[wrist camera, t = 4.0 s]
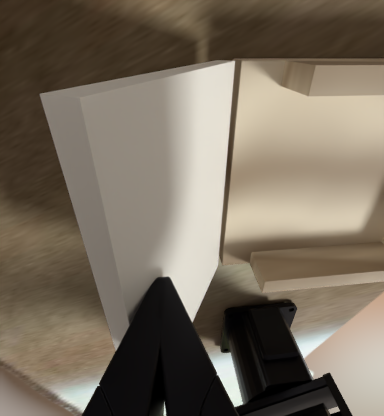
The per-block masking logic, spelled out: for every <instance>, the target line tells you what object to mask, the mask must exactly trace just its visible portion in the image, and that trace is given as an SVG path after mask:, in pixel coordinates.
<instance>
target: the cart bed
mask: <svg viewBox="0 0 384 416" xmlns="http://www.w3.org/2000/svg"><path fill="white" fill-rule="evenodd" d="M233 61H235V68H234V80H233V92H232V104H231V116H230V128H229V139H228V151H227V163H226V175H225V187H224V199H223V211H222V223H221V235H220V247H219V256H220V259H221V263H222V265H232V264H244V263H250V265H251V267H252V270H253V272H254V275H255V277H256V279H257V282H258V284H259V286H260V289H261V291H262V293H268V292H278V291H288V290H299V289H309V288H319V287H330V286H340V285H350V284H361V283H371V282H381V281H384V58H237V59H233Z"/></svg>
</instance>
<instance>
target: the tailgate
mask: <svg viewBox="0 0 384 416" xmlns="http://www.w3.org/2000/svg"><path fill="white" fill-rule="evenodd" d="M234 68H235V61H229V60H215V61H210V62H204V63H199V64H194V65H189V66H183V67H178V68H173V69H167V70H162V71H157V72H152V73H146V74H141V75H136V76H131V77H125V78H120V79H115V80H110V81H104V82H99V83H94V84H89V85H83V86H78V87H73V88H68V89H62V90H57V91H52V92H46V93H41V94H40V98H41V101H42V104H43V108H44V111H45V115H46V118H47V121H48V125H49V128H50V131H51V135H52V138H53V141H54V145H55V148H56V151H57V155H58V158H59V162H60V165H61V168H62V172H63V175H64V178H65V182H66V185H67V188H68V192H69V195H70V199H71V202H72V205H73V209H74V212H75V215H76V219H77V222H78V225H79V229H80V232H81V236H82V239H83V242H84V246H85V249H86V252H87V256H88V259H89V262H90V266H91V269H92V273H93V276H94V279H95V283H96V286H97V289H98V293H99V296H100V299H101V303H102V306H103V309H104V313H105V316H106V320H107V323H108V326H109V330H110V333H111V336H112V340H113V343H114V346H115V350H117V348H118V346H119V344H120V342H121V340H122V339H123V337H124V335H125V333H126V331H127V329H128V327H129V325H130V323H131V321H132V319H133V318H134V316H135V314H136V312H137V310H138V308H139V306H140V304H141V302H142V300H143V298H144V296H145V295H146V293H147V291H148V289H149V287H150V286H151V284H152V283H153V282H154V280H155V279H156V278H157V277H167V276H168V277H170V278H171V280H172V282H173V284H174V286H175V288H176V290H177V292H178V294H179V296H180V298H181V301H182V303H183V305H184V307H185V309H186V311H187V313H188V315H189V317H190V319H191V321H192V322H193V320H194V318H195V316H196V313H197V311H198V309H199V307H200V305H201V302H202V300H203V298H204V296H205V293H206V291H207V289H208V287H209V285H210V282H211V280H212V278H213V276H214V273H215V271H216V269H217V267H218V259H219V247H220V235H221V223H222V211H223V199H224V187H225V175H226V163H227V151H228V139H229V128H230V116H231V104H232V92H233V80H234Z"/></svg>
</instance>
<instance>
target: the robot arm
mask: <svg viewBox="0 0 384 416" xmlns="http://www.w3.org/2000/svg"><path fill="white" fill-rule="evenodd" d="M296 310H297V307H296V305H295V304H294V303H292V302H290V303H281V304H271V305H261V306H251V307H241V308H232V309H227V310H226V311H225V312H224V318H223V326H222V335H221V343H220V349H221V352H222V353H229V352H231V356H232V360H233V364H234V368H235V372H236V376H237V381H238V385H239V389H240V393H241V397H242V401H243V405H240V406H237V407H234V405H233V403H232V402H231V400H230V398H229V396H228V394H227V392H226V390H225V388H224V386H223V384H222V382H221V380H220V378H219V376H218V375H217V372H216V370H215V368H214V366H213V364H212V362H211V360H210V358H209V356H208V354H207V352H206V350H205V348H204V346H203V343H202V341H201V339H200V337H199V335H198V333H197V331H196V329H195V327H194V325H193V323H192V321H191V319H190V317H189V315H188V313H187V311H186V309H185V307H184V305H183V303H182V301H181V298H180V296H179V294H178V292H177V290H176V288H175V286H174V284H173V282H172V280H171V278H170V277H168V276H167V277H157V278H156V279H155V280H154V282H153V283H152V284H151V286H150V287H149V289H148V291H147V293H146V295H145V296H144V298H143V300H142V302H141V304H140V306H139V308H138V310H137V312H136V314H135V316H134V318H133V319H132V321H131V323H130V325H129V327H128V329H127V331H126V333H125V335H124V337H123V339H122V340H121V342H120V344H119V346H118V348H117V350H116V352H115V354H114V356H113V358H112V360H111V361H110V363H109V365H108V367H107V369H106V371H105V373H104V375H103V377H102V379H101V381H100V383H99V385H100V386H97V388H96V390H95V392H94V394H93V396H92V397H91V399H90V401H89V403H88V405H87V407H86V409H85V410H84V412H83V414H82V416H163V413H164V402H165V407H166V416H352V414H351V412H350V411H349V408H348V406H347V404H346V403H345V401H344V399H343V397H342V395H341V393H340V391H339V390H338V388H337V385H336V384H335V382H334V380H333V378H332V376H331V374H330V373H327V374H324V375H323V377H320V378H318V379H315V380H313V378H312V376H311V373H310V371H309V369H308V367H307V365H306V363H305V360H304V358H303V356H302V354H301V352H300V350H299V347H298V345H297V343H296V341H295V339H294V337H293V335H292V332H291V330H290V327H291V324H292V321H293V319H294V316H295V313H296ZM337 406H338V408H339V409H340V411H339V412H336V413H333V414H330V413H329V411H328V409H331V408H334V407H337Z"/></svg>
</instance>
